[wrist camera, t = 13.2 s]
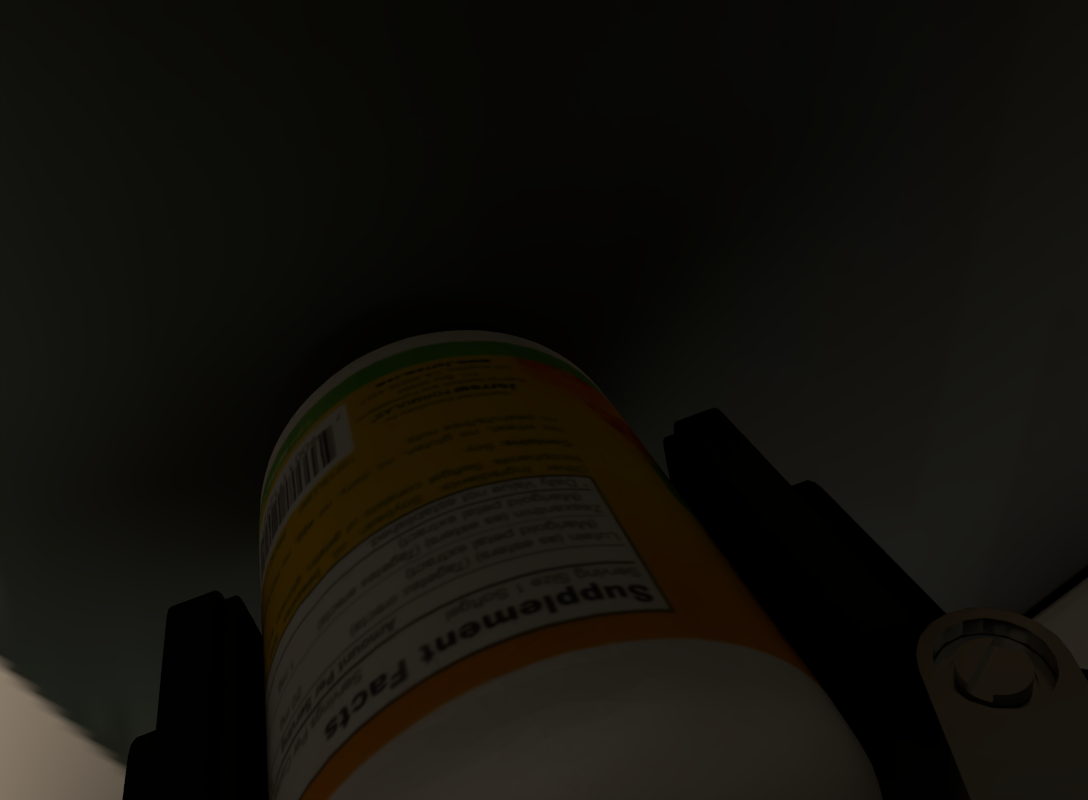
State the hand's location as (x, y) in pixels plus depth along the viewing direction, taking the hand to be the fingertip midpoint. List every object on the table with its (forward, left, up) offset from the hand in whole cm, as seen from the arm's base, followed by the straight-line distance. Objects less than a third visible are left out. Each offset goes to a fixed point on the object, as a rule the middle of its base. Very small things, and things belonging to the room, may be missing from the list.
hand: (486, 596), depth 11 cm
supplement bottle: (0, 0, -3) cm, 3 cm away
